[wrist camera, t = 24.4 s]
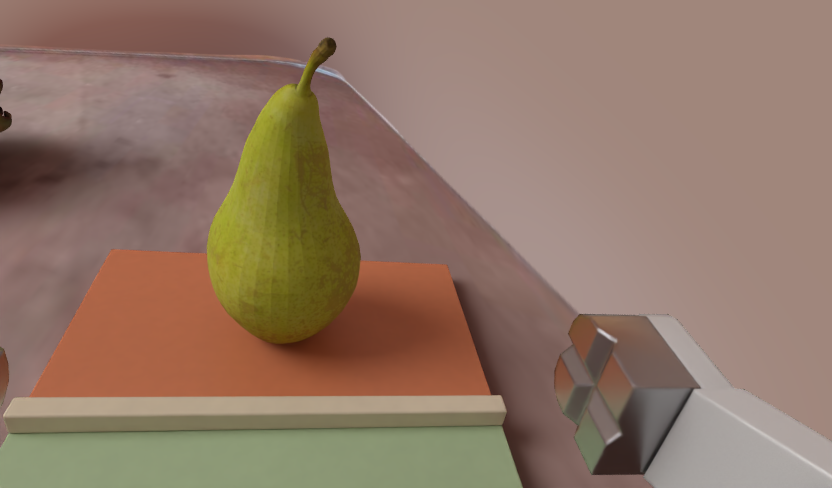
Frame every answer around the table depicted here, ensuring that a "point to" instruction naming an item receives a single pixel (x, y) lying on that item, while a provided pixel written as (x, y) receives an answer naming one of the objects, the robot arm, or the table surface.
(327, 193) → the fruit
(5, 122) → the dragon fruit
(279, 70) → the table surface
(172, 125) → the table surface
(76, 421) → the sorting board
